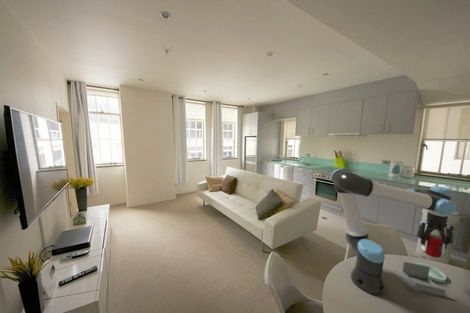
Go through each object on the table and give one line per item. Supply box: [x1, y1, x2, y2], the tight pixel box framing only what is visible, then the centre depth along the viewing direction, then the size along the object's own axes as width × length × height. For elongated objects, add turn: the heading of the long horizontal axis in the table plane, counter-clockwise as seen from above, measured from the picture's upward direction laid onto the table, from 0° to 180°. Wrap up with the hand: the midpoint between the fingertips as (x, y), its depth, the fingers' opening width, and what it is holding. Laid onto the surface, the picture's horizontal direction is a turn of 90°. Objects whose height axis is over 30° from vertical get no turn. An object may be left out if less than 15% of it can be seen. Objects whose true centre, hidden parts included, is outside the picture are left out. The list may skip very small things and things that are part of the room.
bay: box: [400, 260, 446, 297], centre depth 97 cm, size 12×12×8 cm
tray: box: [415, 262, 447, 283], centre depth 105 cm, size 13×13×2 cm
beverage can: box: [423, 232, 443, 258], centre depth 99 cm, size 7×7×12 cm
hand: (432, 251), depth 99 cm, fingers closed on beverage can, 7 cm apart
